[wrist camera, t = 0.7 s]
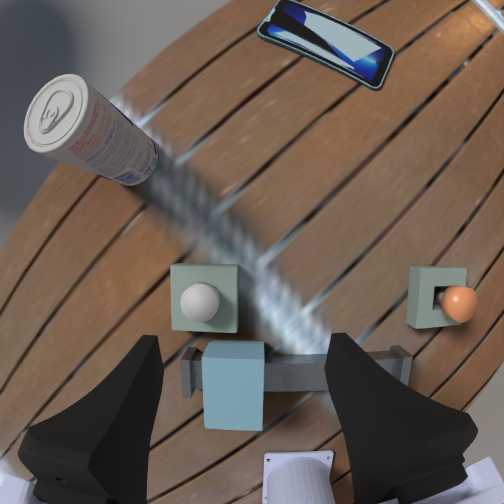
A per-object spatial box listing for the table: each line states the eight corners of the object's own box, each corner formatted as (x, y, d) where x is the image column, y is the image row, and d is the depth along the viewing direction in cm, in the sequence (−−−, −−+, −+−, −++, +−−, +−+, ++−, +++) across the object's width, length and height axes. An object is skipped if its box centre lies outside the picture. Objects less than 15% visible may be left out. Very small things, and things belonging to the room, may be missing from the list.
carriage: (261, 399, 31) (262, 430, 25) (213, 398, 31) (204, 428, 25) (263, 337, 31) (264, 359, 25) (212, 335, 31) (201, 357, 25)
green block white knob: (238, 325, 31) (234, 339, 27) (178, 323, 31) (165, 336, 27) (238, 264, 31) (234, 269, 26) (177, 263, 31) (163, 267, 26)
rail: (393, 379, 31) (406, 392, 27) (190, 382, 32) (183, 397, 28) (398, 345, 31) (412, 356, 27) (188, 347, 31) (180, 359, 28)
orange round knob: (451, 311, 28) (475, 321, 24) (426, 313, 28) (449, 323, 24) (454, 281, 28) (478, 286, 24) (429, 281, 28) (453, 288, 24)
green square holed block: (449, 319, 31) (461, 324, 28) (405, 322, 31) (415, 328, 28) (454, 266, 30) (466, 267, 28) (409, 266, 30) (420, 268, 28)
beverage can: (159, 131, 31) (94, 62, 16) (159, 183, 31) (84, 143, 16) (111, 139, 31) (28, 85, 16) (110, 189, 31) (17, 160, 16)
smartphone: (378, 92, 30) (253, 33, 29) (375, 95, 30) (253, 38, 30) (396, 49, 29) (281, -5, 29) (393, 53, 30) (281, 0, 30)
